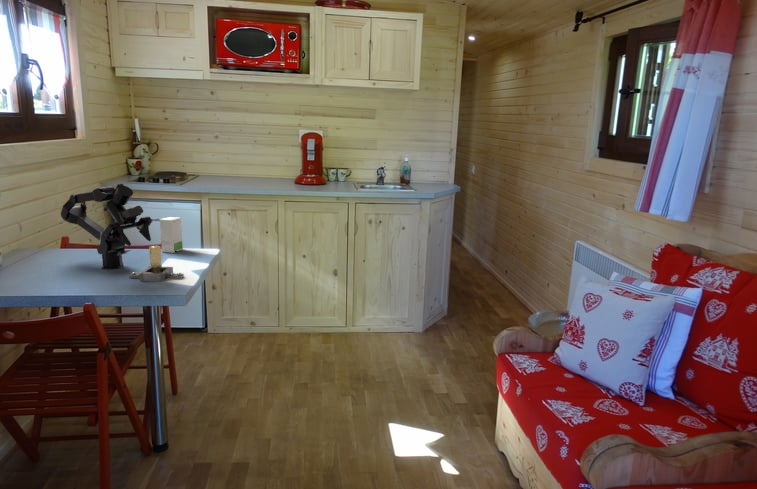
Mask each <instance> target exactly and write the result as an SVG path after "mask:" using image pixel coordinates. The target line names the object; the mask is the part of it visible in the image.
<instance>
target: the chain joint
mask: <svg viewBox="0 0 757 489" xmlns="http://www.w3.org/2000/svg"><path fill="white" fill-rule="evenodd" d="M184 277H185V274H184V273H182V272H178V273H175V272H174V267H173V266H162V273H154V272H151V265H150V266H147V267H146V268H145V269H143V270H142V271H140V272H137V271H133V272H131V274H129V279H139V281H140V282H166V281H167V280H182V279H183V278H184Z"/></svg>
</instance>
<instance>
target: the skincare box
mask: <svg viewBox="0 0 757 489" xmlns="http://www.w3.org/2000/svg"><path fill="white" fill-rule="evenodd" d="M182 228H183V227H182V217H179V216H177V217H176V216H175V217H173V216H167V217H163V218H160V219H159V230H160V231H159V232H160V240H161V241H160V242H161V243H160V244H161V245H160V246H161V253H170V254H171V253H172V254H173V253H174V254H175V253H176V252H175V251H177V252H179V251H182V250H183V249H184V247H183V246H184V244H183V230H182Z"/></svg>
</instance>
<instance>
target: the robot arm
mask: <svg viewBox="0 0 757 489" xmlns="http://www.w3.org/2000/svg"><path fill="white" fill-rule="evenodd" d="M133 195H134V191H133V189H132V188H130V187H128V186H127V185H124V184H123V183H117V185H116V186H115V187H114V186H104V187H97V188H95V189H92V191H88V192H83V193H82V192H80V193H72V194H71V195H70V196H69V199H68V200H67V201H65V203H64V204H63V205H62V208H61V212H60V216H61V217H60V218H62V220H63V221H64V222H66V223H69V224H73V225H78V226H79V227H80V228H82V229H83V230H85V232H87V233H88V234H90V235H91V236H92V237H94V238H95V239H97V240H98V242H99V245H98V246H97V248H96V251H97V254H99V255H101V258H102V266H101V267H100V268H101V269H111V270H112V269H114V270H117V269H119V268H121V267H122V266H123V265H124V263H123V262H124V261H123V256H122V254H121V252H120V251H124V247H126V246H125V245H127V246H129V247H130V246H132V243H131V240H130V239H129V238H128V236H126V233H125V232H124V230H128V229H134V228H136V229H137V230H138V232H139V233H140V234H141V235H142V237H143V238H145V239H146V240H147V241H148V242H150V241H152V239H151V238H152V237H151V233H150V226H151V225H152V223H153V219H152V218H151V217H150V216H143V217H140V218H139V220H138V221H136V220H137V219H138V218H137V217H139V216H141V215H142V214H143V213H144V209H143V207H142V206H141V205H136V206H133V207H130V208H128V209H126V207H125V206H126V205H127V204H129V203H128V202H129V201H130V200H131V199H132V197H133ZM92 201H94V202H96V203H104V202H106V204H104V208H103V212H109V214H110V215H111V216H112V220H111V221H112V222H108V224H107V226H105V228H104V227H102V226H101V225H100V224H99V223H97V222H96V221H94V219H91V218H90V217H89V216H87V208H88V207H87V205H86V202H92ZM76 204H80V205H77V206H76ZM135 221H136V222H135Z"/></svg>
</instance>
